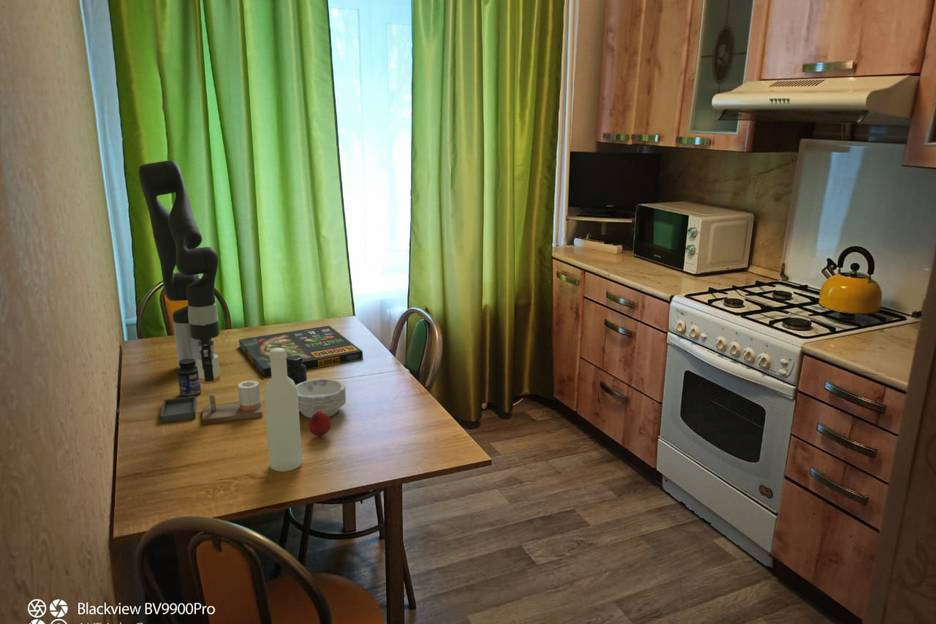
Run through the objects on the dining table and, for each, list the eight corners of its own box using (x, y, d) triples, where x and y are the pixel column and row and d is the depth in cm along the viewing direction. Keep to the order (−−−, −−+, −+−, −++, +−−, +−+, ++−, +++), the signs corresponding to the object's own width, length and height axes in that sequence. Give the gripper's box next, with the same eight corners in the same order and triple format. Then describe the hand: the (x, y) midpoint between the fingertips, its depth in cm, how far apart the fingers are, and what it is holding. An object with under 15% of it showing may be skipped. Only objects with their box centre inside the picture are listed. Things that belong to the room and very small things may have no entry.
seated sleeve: (237, 406, 193) (235, 383, 191) (255, 401, 196) (253, 379, 194) (245, 412, 189) (243, 389, 187) (263, 406, 192) (261, 384, 191)
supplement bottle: (312, 393, 206) (310, 357, 203) (293, 400, 201) (290, 363, 198) (299, 387, 210) (297, 352, 207) (281, 393, 206) (278, 357, 202)
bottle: (305, 456, 168) (298, 344, 159) (299, 472, 160) (290, 355, 152) (273, 456, 167) (264, 344, 159) (265, 472, 160) (255, 355, 151)
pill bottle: (193, 399, 201) (189, 365, 198) (175, 397, 202) (171, 363, 199) (205, 391, 207) (201, 358, 204) (187, 389, 208) (184, 356, 205)
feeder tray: (164, 406, 196) (163, 399, 195) (196, 402, 199) (196, 395, 198) (161, 422, 185) (160, 416, 185) (195, 418, 188) (194, 412, 188)
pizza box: (329, 334, 265) (329, 325, 264) (362, 360, 236) (362, 351, 235) (239, 348, 248) (238, 339, 247) (264, 378, 219) (263, 368, 218)
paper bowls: (327, 397, 203) (326, 373, 201) (356, 412, 193) (355, 387, 191) (283, 411, 193) (281, 386, 191) (311, 428, 183) (309, 402, 180)
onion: (320, 444, 174) (318, 416, 172) (304, 438, 177) (303, 411, 175) (335, 435, 179) (334, 408, 177) (320, 430, 182) (318, 403, 179)
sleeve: (199, 377, 188) (197, 354, 186) (220, 375, 190) (217, 352, 188) (199, 384, 183) (196, 361, 181) (220, 382, 185) (217, 358, 183)
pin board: (203, 410, 193) (201, 389, 191) (260, 403, 199) (258, 383, 197) (202, 424, 184) (200, 403, 182) (262, 416, 190) (260, 395, 188)
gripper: (190, 314, 187) (196, 370, 192) (187, 328, 174) (194, 388, 179) (218, 311, 189) (223, 367, 194) (217, 325, 176) (223, 384, 181)
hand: (209, 376), depth 186 cm, fingers closed on sleeve, 5 cm apart
